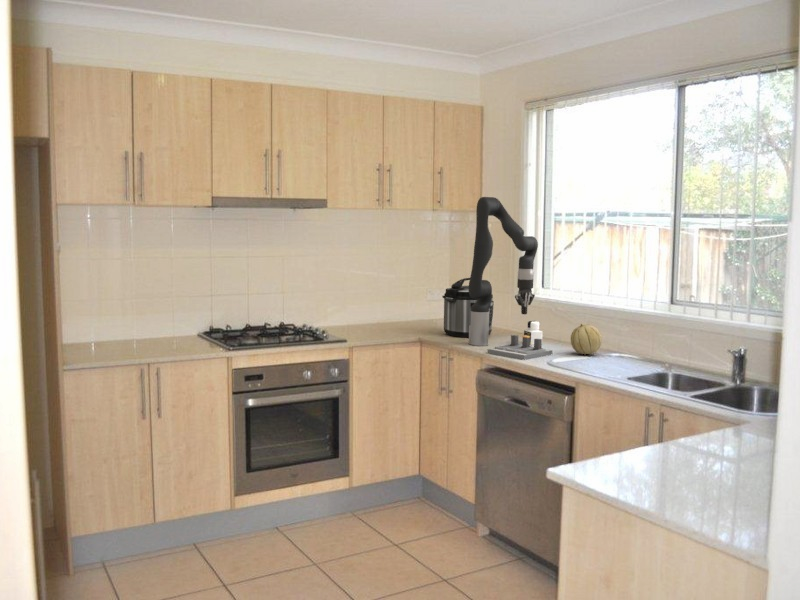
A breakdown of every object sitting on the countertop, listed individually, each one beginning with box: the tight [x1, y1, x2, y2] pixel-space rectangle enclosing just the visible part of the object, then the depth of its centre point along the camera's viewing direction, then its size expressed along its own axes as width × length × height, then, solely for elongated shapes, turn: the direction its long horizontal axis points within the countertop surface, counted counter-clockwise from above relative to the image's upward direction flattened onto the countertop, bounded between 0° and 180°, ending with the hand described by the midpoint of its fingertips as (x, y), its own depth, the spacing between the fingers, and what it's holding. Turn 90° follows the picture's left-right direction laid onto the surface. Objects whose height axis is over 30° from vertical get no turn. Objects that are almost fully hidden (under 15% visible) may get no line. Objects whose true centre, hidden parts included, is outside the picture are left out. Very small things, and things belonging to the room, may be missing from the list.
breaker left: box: [509, 334, 520, 346], centre depth 370 cm, size 3×3×6 cm
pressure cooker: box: [441, 277, 494, 338], centre depth 419 cm, size 30×28×32 cm
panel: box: [486, 343, 553, 361], centre depth 362 cm, size 22×22×3 cm
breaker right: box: [533, 338, 543, 351], centre depth 360 cm, size 3×3×6 cm
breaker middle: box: [521, 335, 531, 349], centre depth 365 cm, size 3×3×6 cm
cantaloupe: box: [570, 323, 603, 356], centre depth 363 cm, size 15×15×15 cm
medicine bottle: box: [523, 320, 544, 346], centre depth 392 cm, size 7×7×12 cm
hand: (524, 314), depth 362 cm, fingers closed
